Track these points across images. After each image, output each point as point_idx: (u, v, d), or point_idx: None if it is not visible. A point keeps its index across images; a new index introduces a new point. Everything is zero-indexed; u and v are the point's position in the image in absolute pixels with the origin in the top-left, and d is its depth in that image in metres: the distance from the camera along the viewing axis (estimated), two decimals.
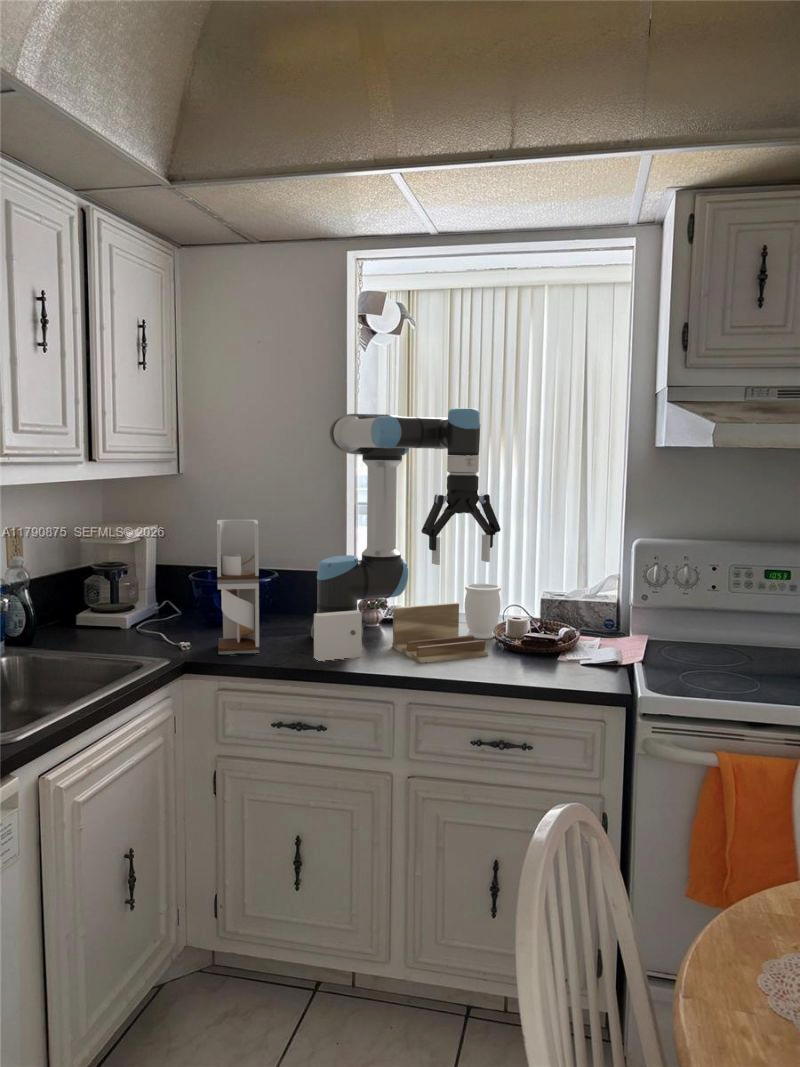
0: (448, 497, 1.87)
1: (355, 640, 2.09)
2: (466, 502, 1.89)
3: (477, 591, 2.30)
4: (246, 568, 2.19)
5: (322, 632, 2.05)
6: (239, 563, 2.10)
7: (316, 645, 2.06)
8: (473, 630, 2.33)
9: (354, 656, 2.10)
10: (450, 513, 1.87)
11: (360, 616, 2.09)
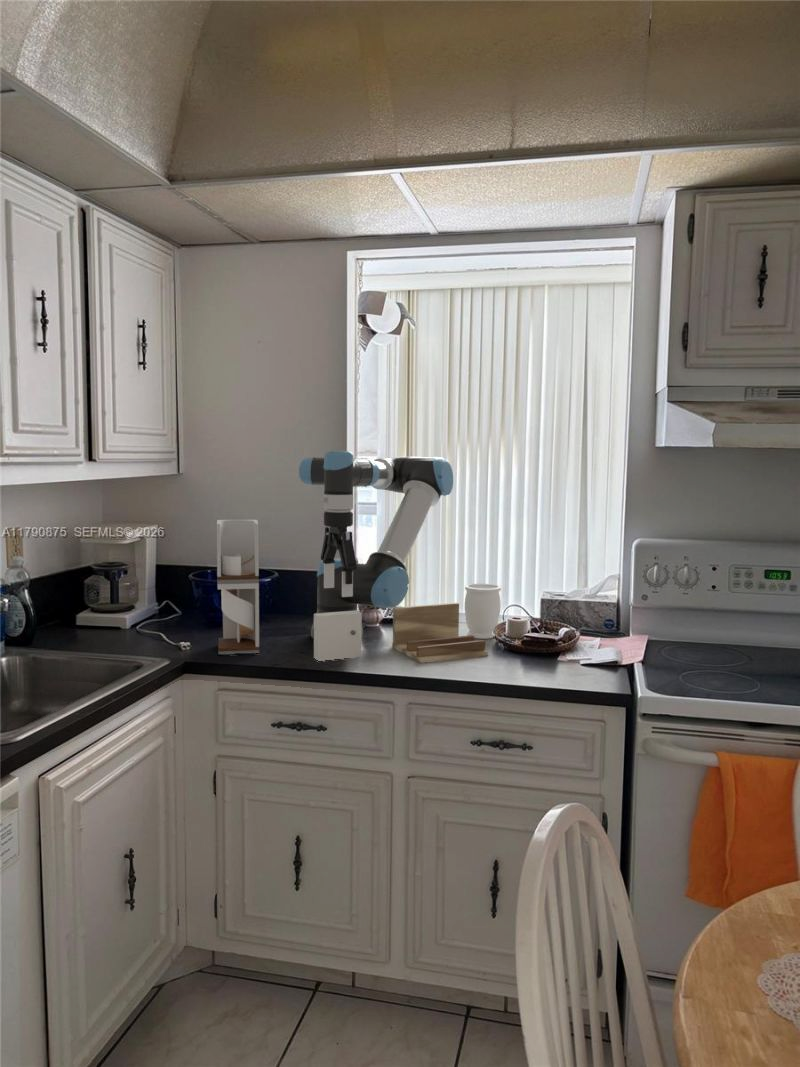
0: None
1: (355, 640, 2.09)
2: None
3: (477, 591, 2.30)
4: (246, 568, 2.19)
5: (322, 632, 2.05)
6: (239, 563, 2.10)
7: (316, 645, 2.06)
8: (473, 630, 2.33)
9: (354, 656, 2.10)
10: None
11: (360, 616, 2.09)
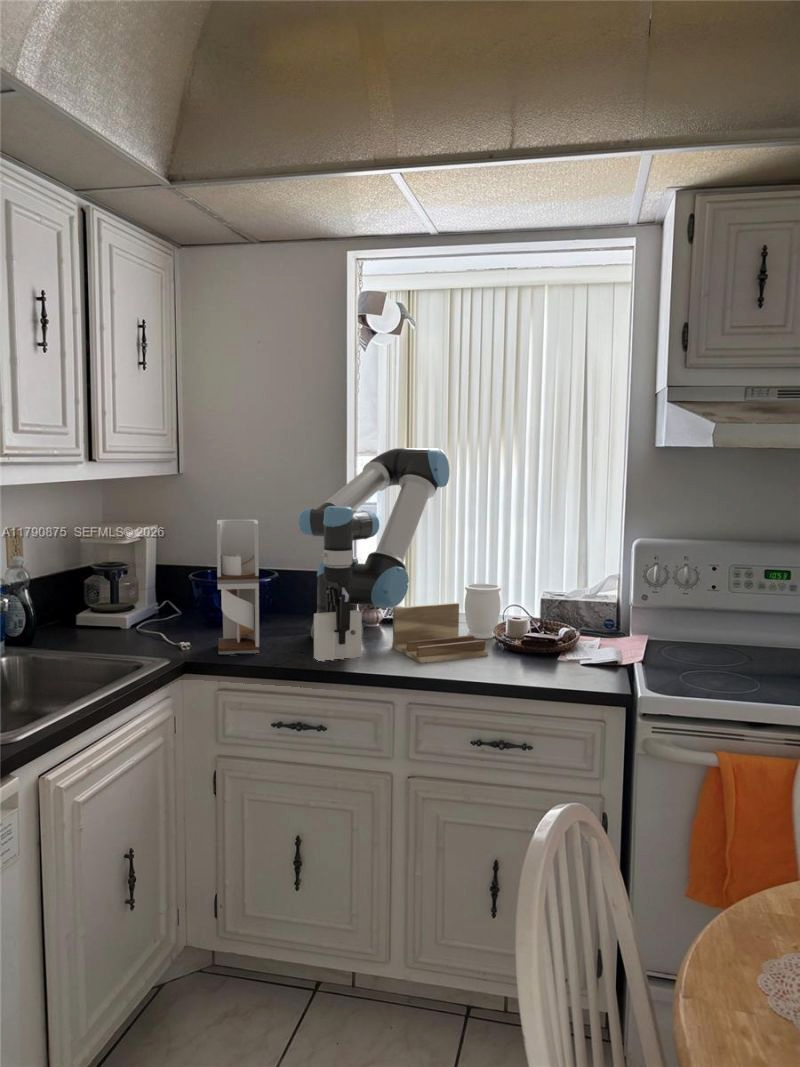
0: None
1: (355, 640, 2.09)
2: None
3: (477, 591, 2.30)
4: (246, 568, 2.19)
5: (322, 632, 2.05)
6: (239, 563, 2.10)
7: (316, 645, 2.06)
8: (473, 630, 2.33)
9: (354, 656, 2.10)
10: (330, 602, 2.10)
11: (360, 616, 2.09)
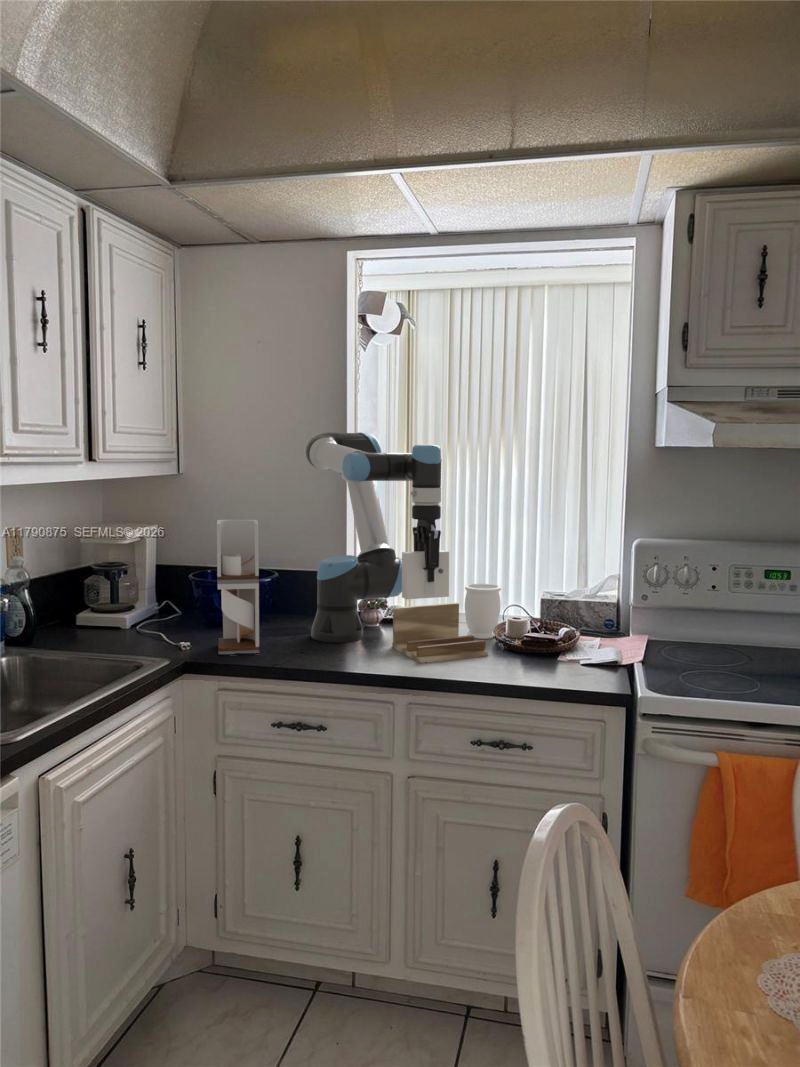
0: None
1: (442, 579, 2.10)
2: None
3: (477, 591, 2.30)
4: (246, 568, 2.19)
5: (411, 570, 2.07)
6: (239, 563, 2.10)
7: (405, 583, 2.08)
8: (473, 630, 2.33)
9: (442, 595, 2.10)
10: (418, 542, 2.11)
11: (448, 555, 2.10)
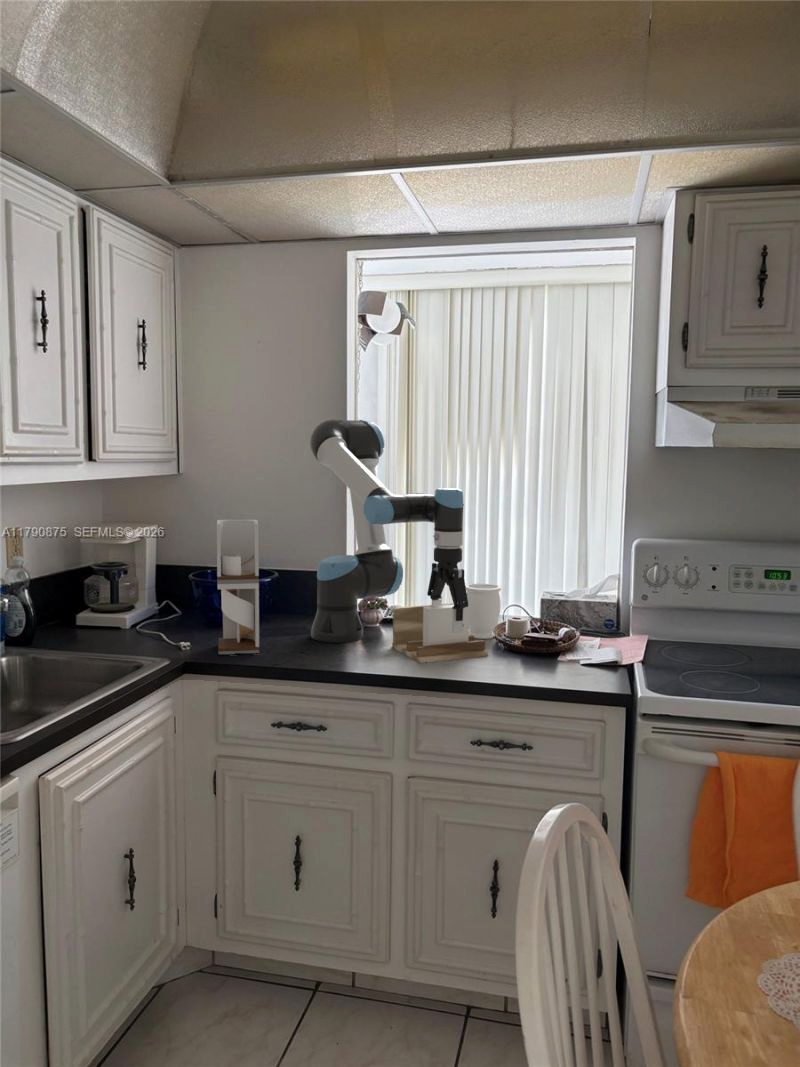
0: None
1: (462, 633, 2.14)
2: None
3: (477, 591, 2.30)
4: (246, 568, 2.19)
5: (433, 625, 2.10)
6: (239, 563, 2.10)
7: (426, 638, 2.11)
8: (473, 630, 2.33)
9: None
10: (436, 580, 2.15)
11: (468, 609, 2.14)
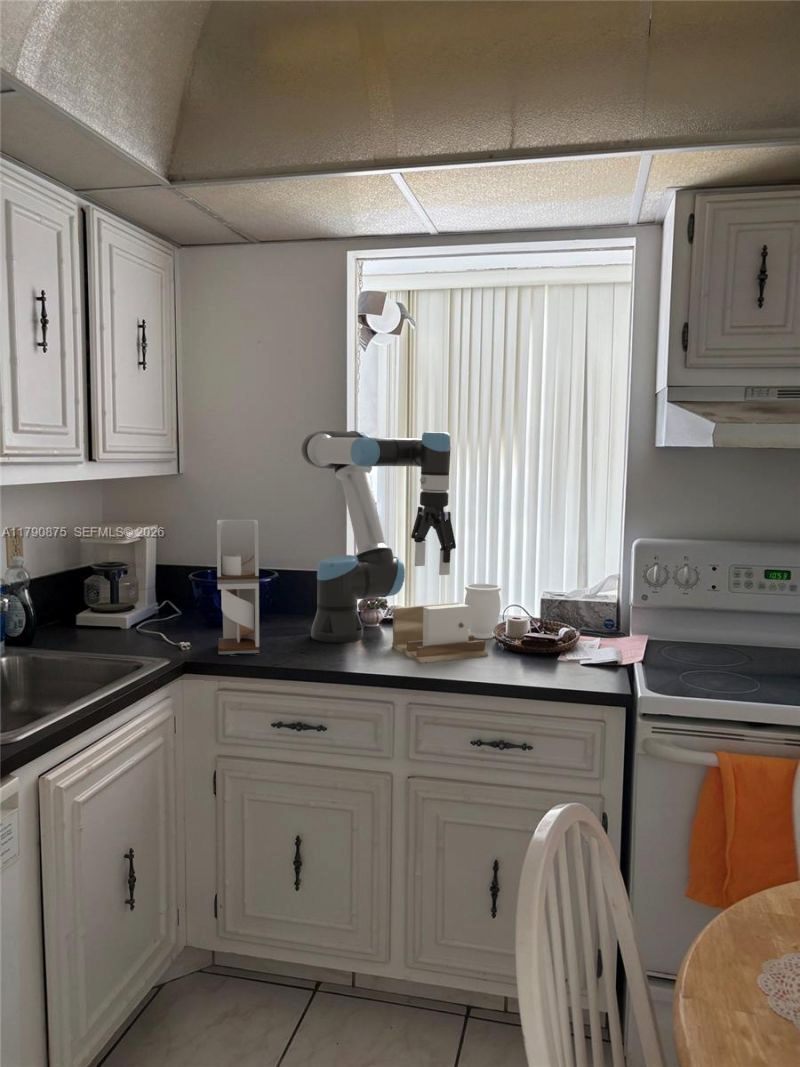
0: None
1: (462, 633, 2.14)
2: None
3: (477, 591, 2.30)
4: (246, 568, 2.19)
5: (433, 625, 2.10)
6: (239, 563, 2.10)
7: (426, 638, 2.11)
8: (473, 630, 2.33)
9: None
10: (421, 523, 2.14)
11: (468, 609, 2.14)
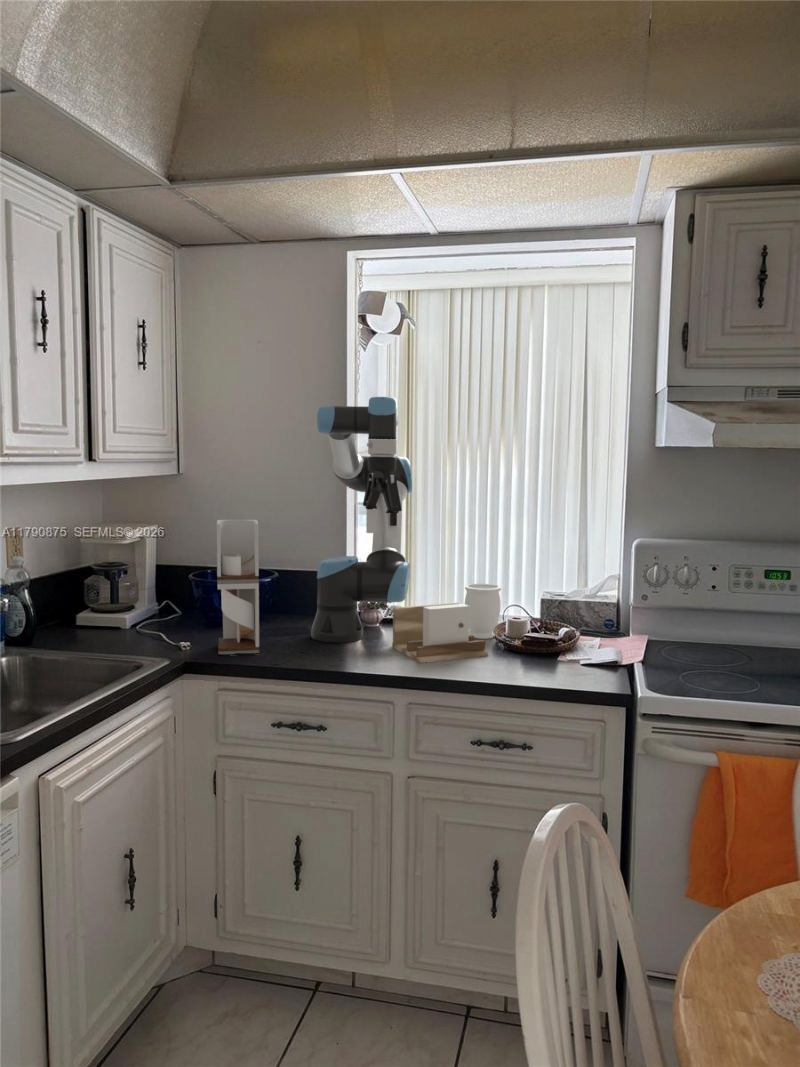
0: None
1: (462, 633, 2.14)
2: None
3: (477, 591, 2.30)
4: (246, 568, 2.19)
5: (433, 625, 2.10)
6: (239, 563, 2.10)
7: (426, 638, 2.11)
8: (473, 630, 2.33)
9: None
10: (371, 489, 2.15)
11: (468, 609, 2.14)
